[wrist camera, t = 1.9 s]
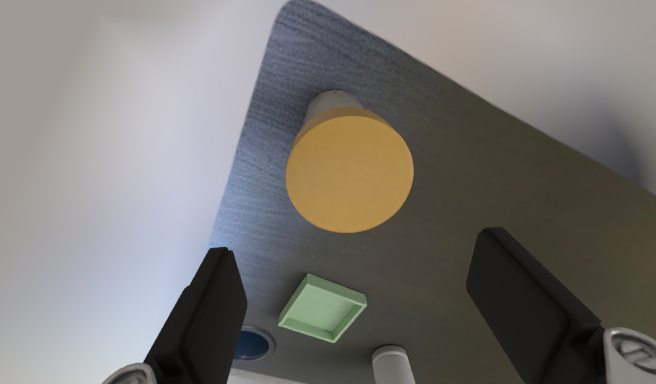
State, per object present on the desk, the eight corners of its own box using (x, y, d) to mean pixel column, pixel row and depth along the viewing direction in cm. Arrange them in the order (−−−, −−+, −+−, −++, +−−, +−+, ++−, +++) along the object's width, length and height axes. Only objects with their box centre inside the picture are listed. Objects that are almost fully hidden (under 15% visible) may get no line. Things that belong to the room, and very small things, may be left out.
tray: (279, 314, 42) (277, 325, 41) (307, 272, 39) (307, 283, 37) (333, 331, 45) (334, 343, 43) (364, 294, 41) (367, 305, 39)
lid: (270, 184, 18) (263, 203, 16) (321, 82, 16) (322, 87, 13) (362, 226, 20) (368, 248, 18) (424, 142, 17) (440, 155, 15)
